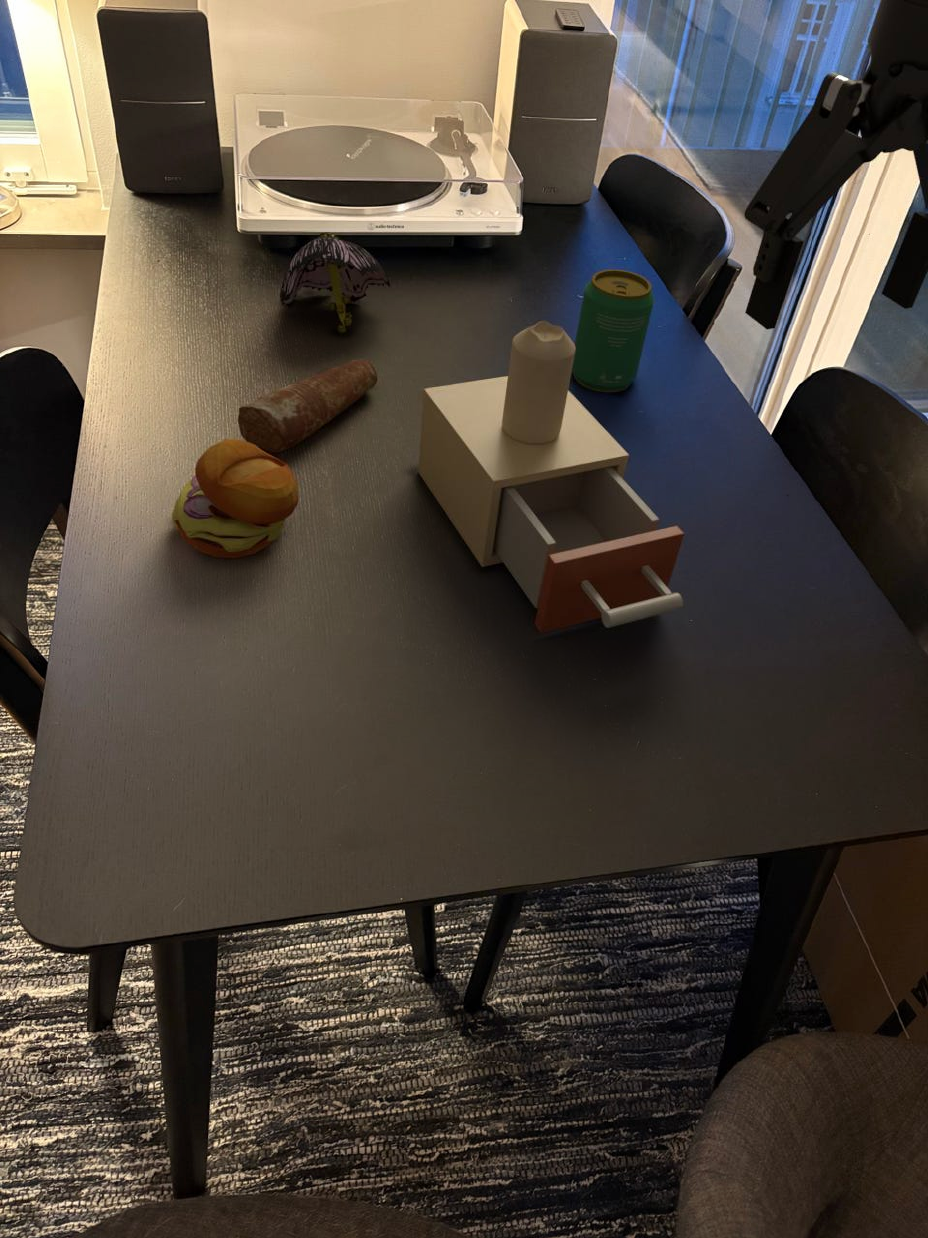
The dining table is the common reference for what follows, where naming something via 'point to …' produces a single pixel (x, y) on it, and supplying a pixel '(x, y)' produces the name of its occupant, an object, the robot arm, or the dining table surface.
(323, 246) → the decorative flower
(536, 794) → the dining table surface
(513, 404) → the candle
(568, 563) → the drawer
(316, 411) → the brown sausage
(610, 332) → the beverage can
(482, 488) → the small drawer cabinet
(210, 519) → the cheeseburger
